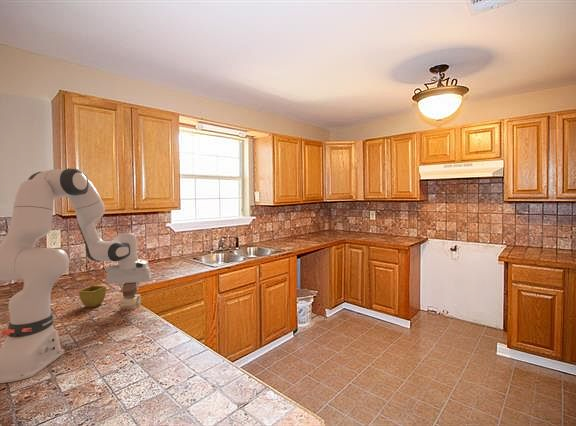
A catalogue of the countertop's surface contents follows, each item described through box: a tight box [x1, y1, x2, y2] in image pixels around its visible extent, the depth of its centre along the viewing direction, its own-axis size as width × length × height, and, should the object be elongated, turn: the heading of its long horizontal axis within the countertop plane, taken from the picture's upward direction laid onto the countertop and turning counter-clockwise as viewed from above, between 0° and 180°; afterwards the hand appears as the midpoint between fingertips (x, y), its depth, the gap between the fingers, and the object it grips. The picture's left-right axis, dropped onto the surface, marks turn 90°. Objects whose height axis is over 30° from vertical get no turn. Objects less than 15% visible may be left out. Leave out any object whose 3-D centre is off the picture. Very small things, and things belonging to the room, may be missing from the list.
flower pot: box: [78, 285, 107, 308], centre depth 157 cm, size 9×9×9 cm
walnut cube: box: [122, 282, 138, 298], centre depth 155 cm, size 5×5×6 cm
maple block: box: [119, 293, 142, 310], centre depth 155 cm, size 7×7×5 cm
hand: (130, 290), depth 155 cm, fingers closed on walnut cube, 5 cm apart
